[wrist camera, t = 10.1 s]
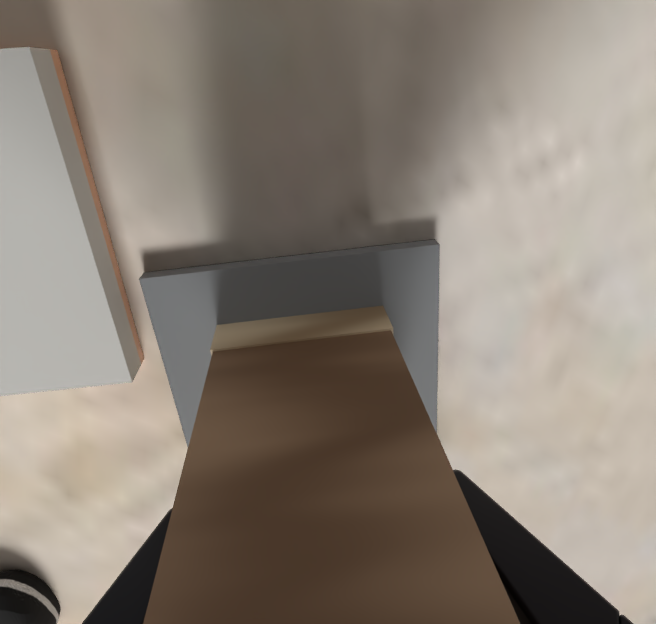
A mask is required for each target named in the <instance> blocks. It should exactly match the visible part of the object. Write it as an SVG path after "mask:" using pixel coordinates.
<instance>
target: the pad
mask: <svg viewBox="0 0 656 624" xmlns="http://www.w3.org/2000/svg"><path fill="white" fill-rule="evenodd" d="M139 280H140V284H141V287H142V291H143V294H144V297H145V301H146V304H147V308H148V311H149V315H150V318H151V322H152V325H153V329H154V332H155V335H156V339H157V342H158V346H159V349H160V353H161V356H162V360H163V363H164V367H165V370H166V373H167V377H168V380H169V384H170V387H171V391H172V394H173V398H174V401H175V405H176V408H177V411H178V415H179V418H180V422H181V425H182V429H183V432H184V436H185V439H186V443H187V446H189V443H190V439H191V435H192V431H193V427H194V423H195V419H196V415H197V411H198V407H199V404H200V400H201V396H202V392H203V388H204V384H205V380H206V376H207V372H208V368H209V364H210V361H211V357H212V356H211V352H210V348H211V345H212V341H213V337H214V333H215V330H216V326H217V325H221V324H229V323H238V322H247V321H255V320H264V319H272V318H281V317H289V316H298V315H306V314H315V313H323V312H332V311H341V310H349V309H358V308H366V307H375V306H383V307H384V309H385V311H386V313H387V315H388V318H389V320H390V322H391V324H392V326H393V336H394V338H395V340H396V343H397V345H398V347H399V349H400V352H401V354H402V356H403V358H404V361H405V363H406V365H407V368H408V370H409V372H410V374H411V377H412V379H413V381H414V383H415V386H416V388H417V390H418V393H419V395H420V397H421V399H422V402H423V404H424V406H425V408H426V411H427V413H428V415H429V417H430V420H431V422H432V424H433V427H434V429H435V431H436V433H437V371H438V307H439V243H438V242H437V241H436V240H435V239H433V240H424V241H415V242H407V243H398V244H389V245H381V246H372V247H363V248H354V249H346V250H337V251H328V252H320V253H311V254H302V255H294V256H285V257H276V258H267V259H259V260H250V261H241V262H233V263H224V264H215V265H206V266H198V267H189V268H180V269H172V270H163V271H154V272H145V273H143V274H142V276H141V277H140V279H139Z"/></svg>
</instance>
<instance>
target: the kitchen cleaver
mask: <svg viewBox="0 0 656 624" xmlns="http://www.w3.org/2000/svg"><path fill="white" fill-rule="evenodd" d="M59 615H60V605H59V602H58V600H57V598H56V597H55V595H54V594H53V592H52V591H51V589H50V588H49V587H48V586H47V584H46V583H45V582H44V581H42V580H41V579H40V578H38V577H37V576H35V575H33V574H30V573H28V572H25V571H21V570H9V571H3V572H0V624H57V623H58V619H59Z"/></svg>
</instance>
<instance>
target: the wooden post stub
mask: <svg viewBox="0 0 656 624" xmlns="http://www.w3.org/2000/svg"><path fill="white" fill-rule="evenodd" d="M210 352H211V356H212V357H211V361H210V364H209V368H208V372H207V376H206V380H205V384H204V388H203V392H202V396H201V400H200V404H199V407H198V411H197V415H196V419H195V423H194V427H193V431H192V435H191V439H190V443H189V446H188V450H187V454H186V458H185V462H184V466H183V470H182V474H181V478H180V482H179V486H178V489H177V493H176V497H175V501H174V505H173V509H172V513H171V517H170V521H169V525H168V529H167V532H166V536H165V540H164V544H163V548H162V552H161V556H160V560H159V564H158V568H157V572H156V575H155V579H154V583H153V587H152V591H151V595H150V599H149V603H148V607H147V611H146V615H145V618H144V622H143V624H520V622H519V620H518V617H517V615H516V613H515V611H514V608H513V606H512V604H511V601H510V599H509V597H508V595H507V592H506V590H505V588H504V586H503V583H502V581H501V579H500V577H499V574H498V572H497V570H496V567H495V565H494V563H493V561H492V558H491V556H490V554H489V552H488V549H487V547H486V545H485V542H484V540H483V538H482V536H481V533H480V531H479V529H478V527H477V524H476V522H475V520H474V517H473V515H472V513H471V511H470V508H469V506H468V504H467V502H466V499H465V497H464V495H463V492H462V490H461V488H460V486H459V483H458V481H457V479H456V477H455V474H454V472H453V470H452V467H451V465H450V463H449V461H448V458H447V456H446V454H445V452H444V449H443V447H442V445H441V442H440V440H439V438H438V436H437V433H436V431H435V429H434V427H433V424H432V422H431V420H430V417H429V415H428V413H427V411H426V408H425V406H424V404H423V402H422V399H421V397H420V395H419V393H418V390H417V388H416V386H415V383H414V381H413V379H412V377H411V374H410V372H409V370H408V368H407V365H406V363H405V361H404V358H403V356H402V354H401V352H400V349H399V347H398V345H397V343H396V340H395V338H394V336H393V326H392V324H391V322H390V320H389V318H388V315H387V313H386V311H385V309H384V307H383V306H375V307H366V308H358V309H349V310H341V311H332V312H323V313H315V314H306V315H298V316H289V317H281V318H272V319H264V320H255V321H247V322H238V323H229V324H221V325H217V326H216V330H215V333H214V337H213V341H212V345H211V348H210Z"/></svg>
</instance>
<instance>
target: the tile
mask: <svg viewBox="0 0 656 624" xmlns="http://www.w3.org/2000/svg"><path fill="white" fill-rule="evenodd" d="M143 360H144V356H143V352H142V349H141V345H140V341H139V338H138V334H137V331H136V327H135V324H134V320H133V317H132V313H131V310H130V306H129V302H128V299H127V295H126V292H125V288H124V285H123V281H122V278H121V274H120V271H119V267H118V264H117V260H116V256H115V253H114V249H113V246H112V242H111V239H110V235H109V232H108V228H107V225H106V221H105V217H104V214H103V210H102V207H101V203H100V200H99V196H98V193H97V189H96V186H95V182H94V179H93V175H92V171H91V168H90V164H89V161H88V157H87V154H86V150H85V147H84V143H83V140H82V136H81V133H80V129H79V125H78V122H77V118H76V115H75V111H74V108H73V104H72V101H71V97H70V94H69V90H68V86H67V83H66V79H65V76H64V72H63V69H62V65H61V62H60V58H59V55H58V51H57V50H51V49H43V48H35V47H19V48H5V49H0V396H6V395H15V394H25V393H35V392H44V391H54V390H64V389H73V388H83V387H92V386H102V385H112V384H121V383H131V382H133V380H134V378H135V376H136V374H137V372H138V370H139V368H140V366H141V364H142V362H143Z"/></svg>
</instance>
